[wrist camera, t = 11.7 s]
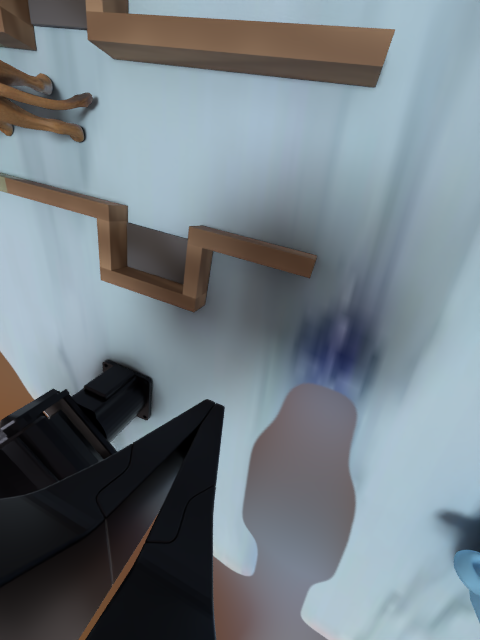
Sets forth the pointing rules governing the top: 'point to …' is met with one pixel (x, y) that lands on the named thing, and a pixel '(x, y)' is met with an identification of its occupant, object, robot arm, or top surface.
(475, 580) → the decorative pot
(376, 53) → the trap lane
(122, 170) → the top surface
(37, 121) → the lion figurine
